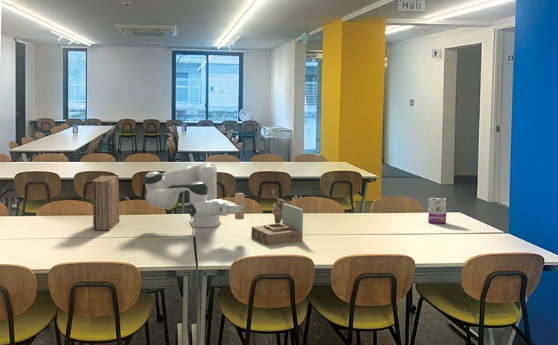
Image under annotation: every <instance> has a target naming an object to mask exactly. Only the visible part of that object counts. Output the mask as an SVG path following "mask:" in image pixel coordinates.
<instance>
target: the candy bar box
mask: <svg viewBox="0 0 558 345" xmlns="http://www.w3.org/2000/svg"><path fill="white" fill-rule="evenodd" d="M447 203H448V199H447V198H445V197H444V198H442V197H428V211H427V214H428V216H427V222H428V224H436V225H437V224H439V225H446V223H447V207H448V204H447Z"/></svg>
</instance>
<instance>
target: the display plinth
mask: <svg viewBox="0 0 558 345" xmlns="http://www.w3.org/2000/svg"><path fill="white" fill-rule="evenodd" d="M303 229H304V209H303V208H299V207H297V206H294V205H292V204H291V205H289V204H286V203H283V209H282V220H281V222H280V223H277V224H275V223H270V224H269V223H268V224H263V225H254V226H251V236H250V237H251V238H252V239H255V240H256V241H259V242H260V243H263V244H265V245H267V246H273V245H280V244H289V243H290V244H291V243H296V242H297V243H298V242H303V234H304V233H303Z"/></svg>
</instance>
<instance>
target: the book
mask: <svg viewBox="0 0 558 345" xmlns="http://www.w3.org/2000/svg"><path fill="white" fill-rule="evenodd" d="M91 186H92V187H91V188H92V190H91V191H92V192H91V194H92V225H93V226H92V227H93V228H92V229H93V232H94V231H108V232H110V231H111V230H112V229H113V228H114V227H115V226H117V225H118V223H120V194H119V193H120V192H119V191H120V189H119V187H120V184H119V174H102V175H100V176H99V177H96V178H95V179H93V180H91ZM110 229H111V230H110Z"/></svg>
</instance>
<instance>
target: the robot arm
mask: <svg viewBox="0 0 558 345" xmlns="http://www.w3.org/2000/svg"><path fill="white" fill-rule="evenodd" d="M217 172H218V170H217V166H216V165H215V164H214V163H213V162H211V161H205V162H202V163H198V164H195V165H190V166H186V167H182V168H176V169H172V170H168V171H166V172H163V173H162V172H159V171H156V170H155V171H154V170H153V171H149V172H147V173H146V174H145V175H144V177H143V181H144V185H145V190H146V195H145V201H146V203H147V204H149V205H150V206H152V207H155V208H159V209H163V210H164V209H165V210H169V209H172V208H173V207H175V205H176V204H177V202H178V200H179V197H180V194H181V193H182V192H188V193H189V204H188V206H187V211H188V214H189V216H190V217H191V218H192V219H190V220H188V222H189V223H190V224H191V226H192V227H194V228H195V227H198V228H214V227H218V226H220V225H221V224H222V221H220V220H221V218H220V216H222V217H223V216H224V217H227V216H228V215H235V213H239V212H241V208H244V209H245V204H244V205H243V204H242V205H237V204H235V201H234V202H233V201H229V200H226V199H220V198H219V199H217V198H218V197H217V196H218V195H217V188H218V187H217Z"/></svg>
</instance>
